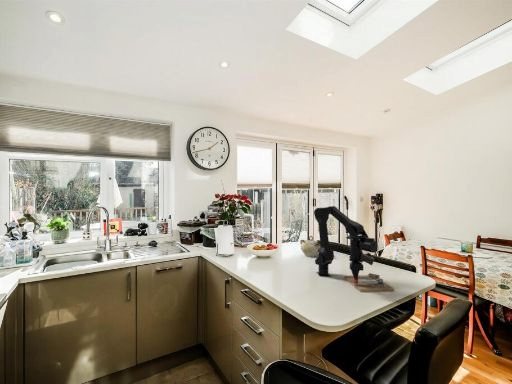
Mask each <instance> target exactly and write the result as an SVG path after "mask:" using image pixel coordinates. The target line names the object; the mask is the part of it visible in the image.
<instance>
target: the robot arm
mask: <svg viewBox="0 0 512 384" xmlns="http://www.w3.org/2000/svg"><path fill="white" fill-rule="evenodd" d="M313 214H314V219H315V220H316V222H317V224H318V233H319V243H320V245H321V248H320V250H319V252H318V257H317V258H315V260H314V262H315V263H314V264H315V265H317V266H318V271H316V274H317V275H318V276H319V277H330V276H331V274H330V273H329V265H332V263H333V261H334V258H335V254H334V253H335V252H334V249H332V248H331V247H330V239H329V232H328V231H329V230H328V220H329V217H330V215H331V216H332V217H333V218H334V219H336V220H337V221H338V222H339V223H340V224H341V225H343V227H344V229H345V231H346V232H347V233H348V235H347V237H346V239H347V240H349V258H348V259H349V270H350V271H351V273H352V274H351V275H353V276H354V279H355V280H357V278H358V275H360V274H359V273H360V271H364V264H363V263H366V264H368V265H370V266H373V264H374V262H375V258H374V257H373V256H372V254H373V253H376V252H377V251H378V243H377V241H376V240H375V238H374V237H369V235H368V234H367V232H366V230H365V227H364V225H363V224H361V223H359V222H357V221H354V220H353V219H350V218H349V217H348V215H346V214H345V213H343V212H342V211H341V210H340V209H339V208H338V207H337V206H335V205H332V206H327V207H316V208H315V209H314V211H313ZM364 251H365V252H367V253H364ZM371 253H372V254H371Z"/></svg>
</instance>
